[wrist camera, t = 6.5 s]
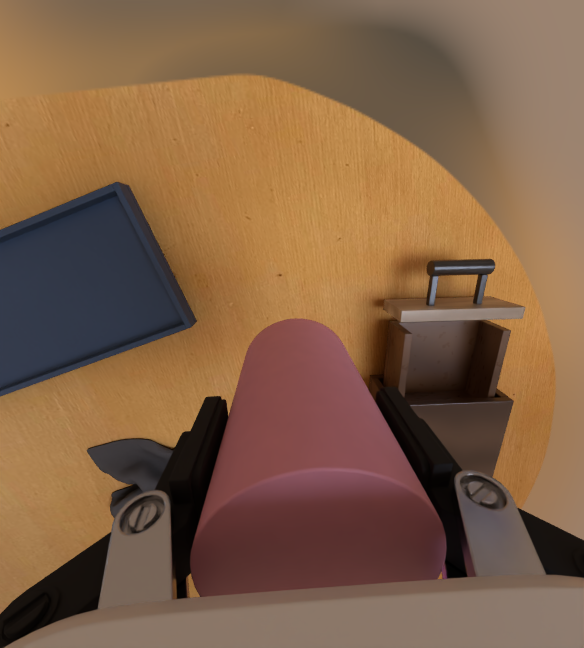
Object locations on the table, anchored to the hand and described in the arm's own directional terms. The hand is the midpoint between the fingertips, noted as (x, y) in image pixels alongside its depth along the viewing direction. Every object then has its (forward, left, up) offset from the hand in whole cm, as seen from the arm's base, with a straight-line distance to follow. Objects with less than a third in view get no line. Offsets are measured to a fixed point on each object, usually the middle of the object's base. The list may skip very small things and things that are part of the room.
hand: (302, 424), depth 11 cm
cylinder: (0, 0, -5) cm, 5 cm away
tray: (0, -28, -22) cm, 35 cm away
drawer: (+4, +17, -21) cm, 27 cm away
